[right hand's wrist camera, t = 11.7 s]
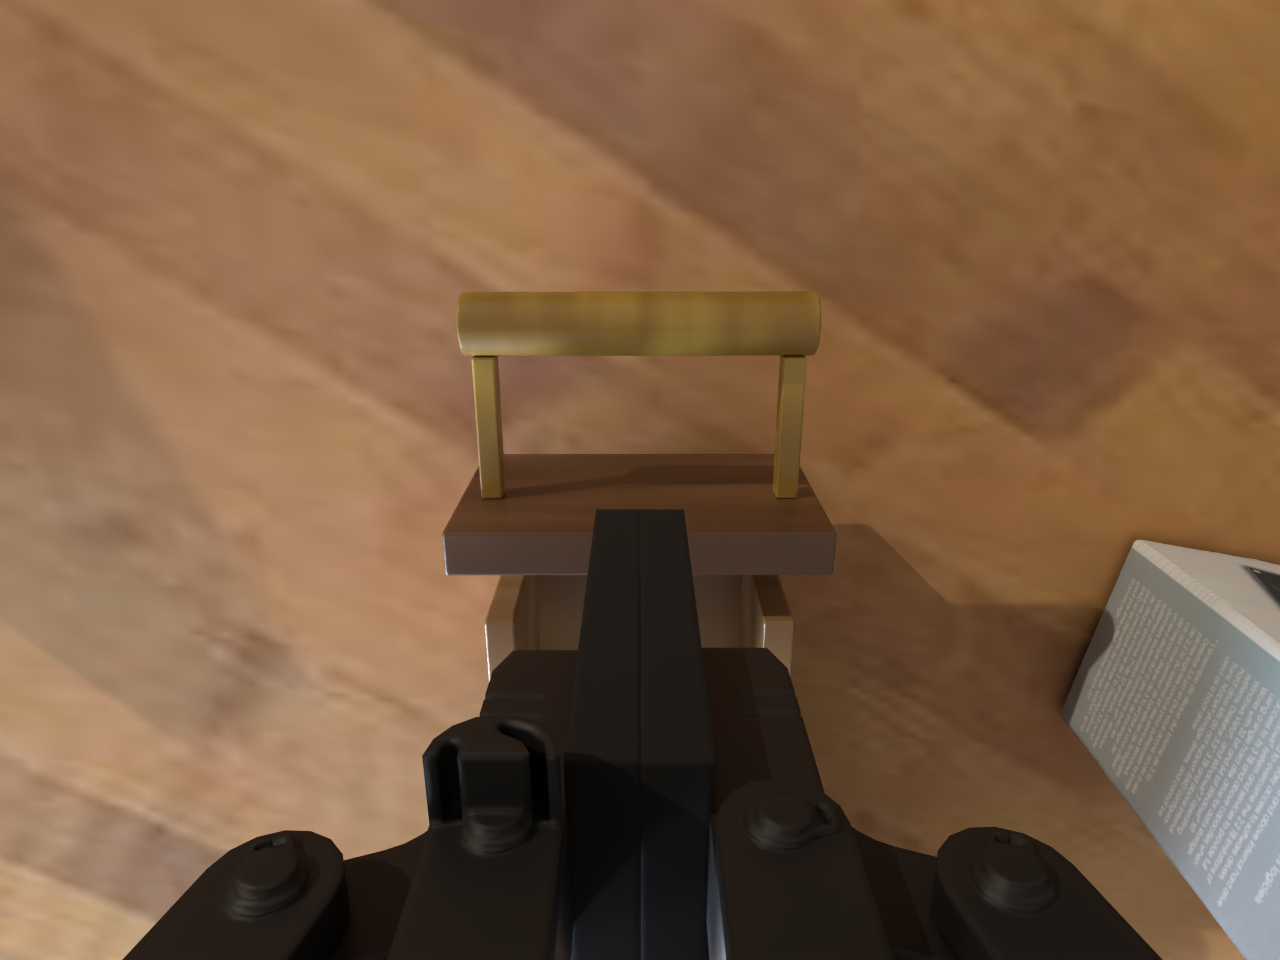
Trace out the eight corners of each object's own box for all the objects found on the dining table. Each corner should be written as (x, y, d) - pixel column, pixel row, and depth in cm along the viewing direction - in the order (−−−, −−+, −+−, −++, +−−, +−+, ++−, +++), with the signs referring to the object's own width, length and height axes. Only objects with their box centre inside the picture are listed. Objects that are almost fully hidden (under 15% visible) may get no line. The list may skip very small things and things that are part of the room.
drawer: (472, 275, 25) (420, 308, 19) (805, 275, 25) (856, 307, 19) (512, 877, 33) (485, 1031, 27) (767, 877, 33) (794, 1031, 27)
